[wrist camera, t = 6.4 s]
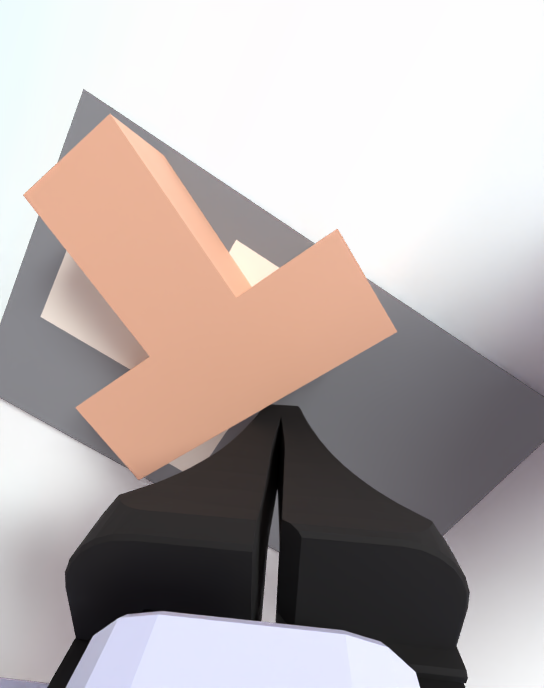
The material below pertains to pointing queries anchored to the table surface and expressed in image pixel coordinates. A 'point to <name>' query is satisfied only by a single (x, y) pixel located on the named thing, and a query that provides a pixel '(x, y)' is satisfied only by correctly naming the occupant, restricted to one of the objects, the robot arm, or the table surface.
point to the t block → (194, 302)
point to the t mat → (313, 398)
